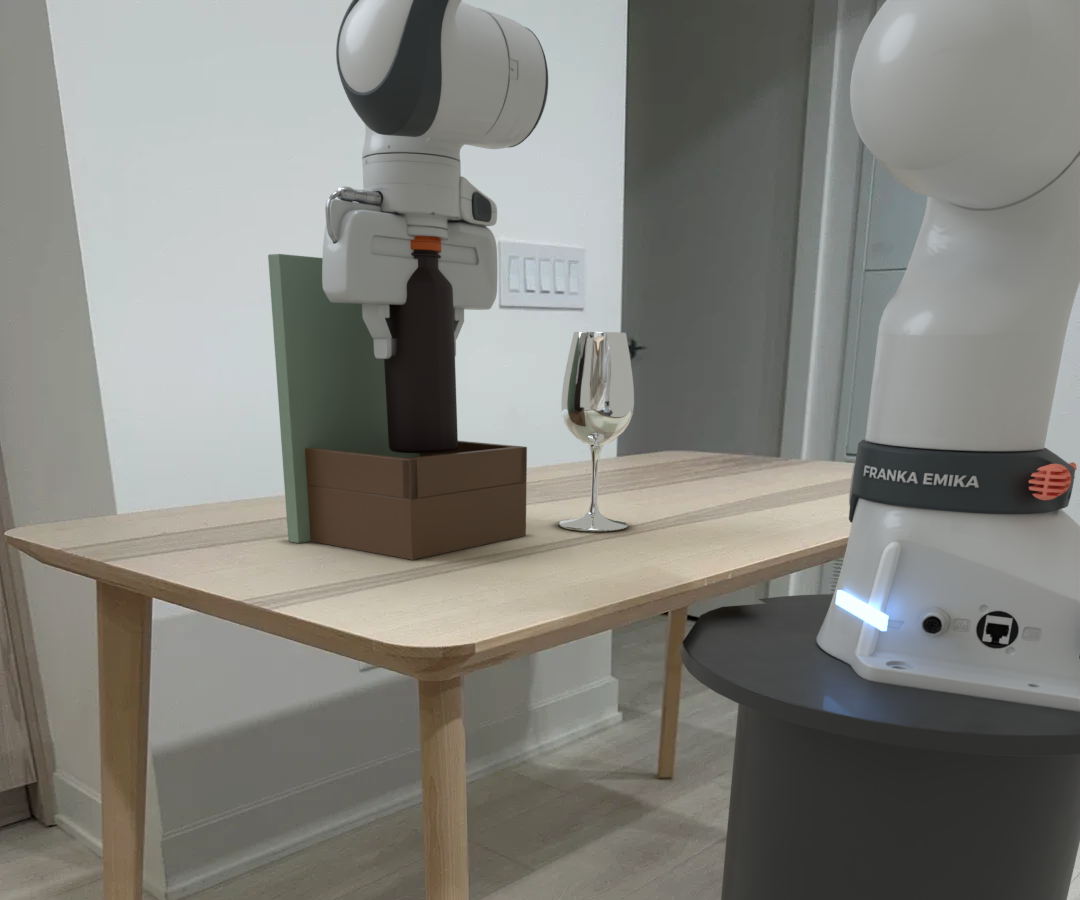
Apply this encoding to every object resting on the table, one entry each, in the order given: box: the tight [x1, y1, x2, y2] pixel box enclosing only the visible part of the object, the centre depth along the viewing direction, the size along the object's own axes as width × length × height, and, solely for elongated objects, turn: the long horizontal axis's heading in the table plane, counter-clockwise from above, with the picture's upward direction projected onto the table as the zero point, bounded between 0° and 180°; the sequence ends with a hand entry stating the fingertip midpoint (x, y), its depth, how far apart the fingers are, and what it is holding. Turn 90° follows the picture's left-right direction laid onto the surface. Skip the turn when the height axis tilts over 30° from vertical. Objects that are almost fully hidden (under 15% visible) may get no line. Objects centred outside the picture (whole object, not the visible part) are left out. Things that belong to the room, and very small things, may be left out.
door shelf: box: [267, 253, 528, 561], centre depth 99 cm, size 16×20×26 cm
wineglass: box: [558, 331, 635, 533], centre depth 108 cm, size 8×8×20 cm
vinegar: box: [384, 236, 459, 453], centre depth 96 cm, size 7×7×20 cm
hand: (416, 358), depth 97 cm, fingers closed on vinegar, 7 cm apart
